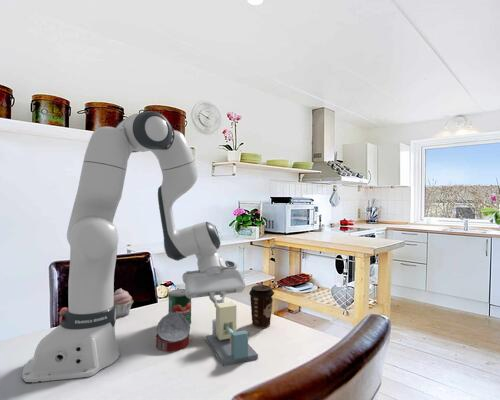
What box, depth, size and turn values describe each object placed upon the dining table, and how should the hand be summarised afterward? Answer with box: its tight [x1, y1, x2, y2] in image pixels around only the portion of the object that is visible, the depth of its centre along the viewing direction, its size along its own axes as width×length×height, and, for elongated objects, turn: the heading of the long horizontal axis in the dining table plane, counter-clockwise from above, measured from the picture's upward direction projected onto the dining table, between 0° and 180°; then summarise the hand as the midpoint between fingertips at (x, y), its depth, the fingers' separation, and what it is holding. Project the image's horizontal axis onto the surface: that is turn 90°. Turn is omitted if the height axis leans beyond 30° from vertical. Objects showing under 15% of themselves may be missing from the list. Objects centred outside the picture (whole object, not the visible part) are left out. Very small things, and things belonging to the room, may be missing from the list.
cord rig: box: [205, 318, 259, 367], centre depth 94 cm, size 10×17×8 cm, turn 23°
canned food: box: [155, 312, 191, 353], centre depth 97 cm, size 11×10×10 cm
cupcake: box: [114, 287, 134, 318], centre depth 121 cm, size 9×9×10 cm
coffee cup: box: [249, 284, 275, 329], centre depth 112 cm, size 9×8×13 cm
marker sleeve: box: [215, 301, 237, 340], centre depth 98 cm, size 5×4×10 cm
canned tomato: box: [168, 288, 192, 326], centre depth 113 cm, size 8×8×11 cm
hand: (219, 306), depth 103 cm, fingers closed
